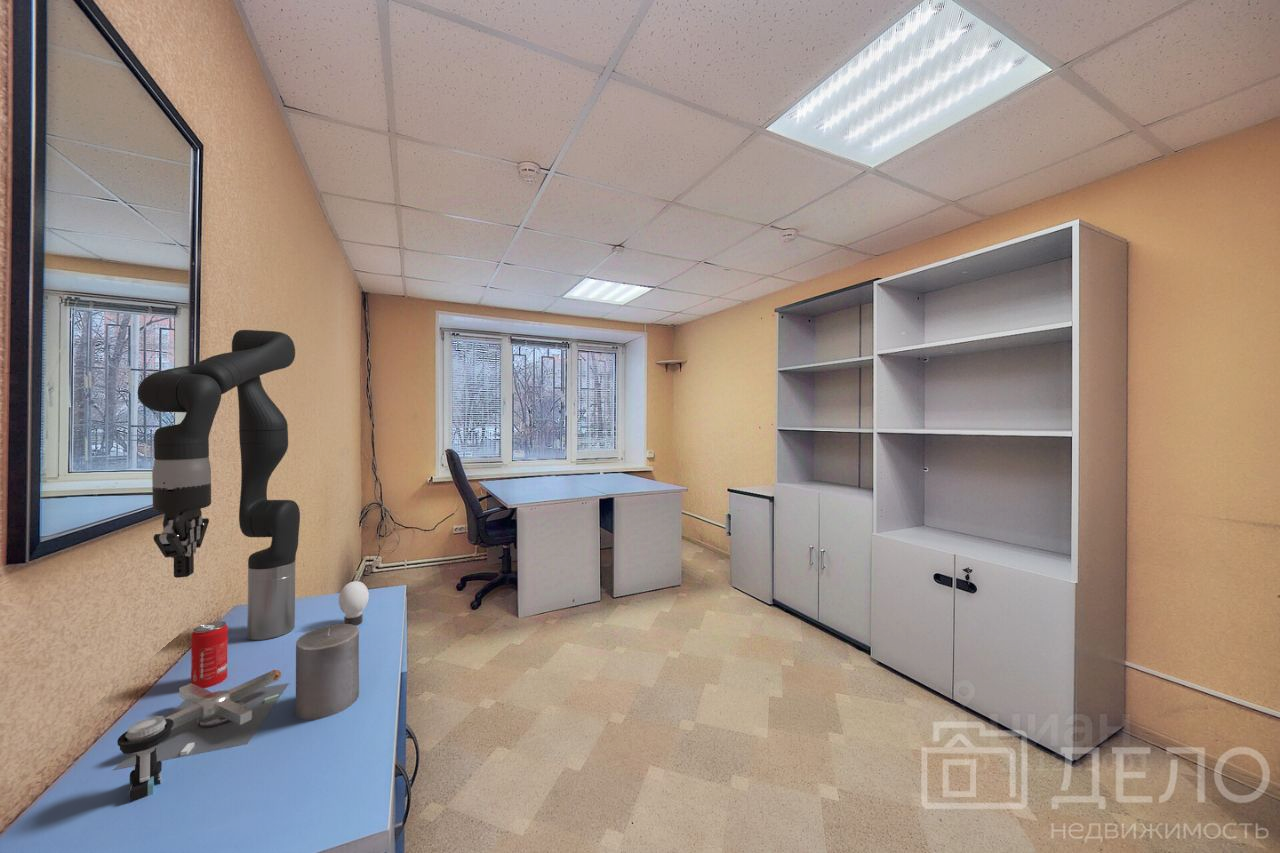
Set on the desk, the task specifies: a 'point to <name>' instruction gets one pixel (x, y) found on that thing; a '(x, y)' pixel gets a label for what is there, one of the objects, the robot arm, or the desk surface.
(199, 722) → the capstan
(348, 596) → the light bulb
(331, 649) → the pillar candle
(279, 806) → the desk surface
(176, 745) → the stand
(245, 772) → the desk surface
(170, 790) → the desk surface
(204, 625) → the beverage can
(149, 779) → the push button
